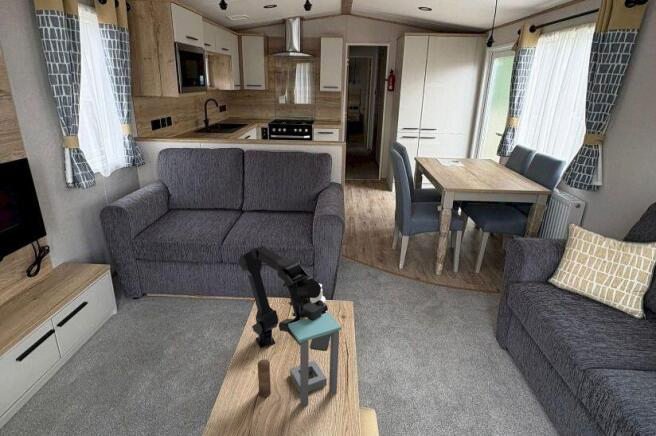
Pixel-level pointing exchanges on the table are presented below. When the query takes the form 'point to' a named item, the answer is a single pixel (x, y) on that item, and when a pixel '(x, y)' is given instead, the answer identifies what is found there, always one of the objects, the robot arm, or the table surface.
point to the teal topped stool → (303, 333)
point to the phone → (320, 342)
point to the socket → (313, 383)
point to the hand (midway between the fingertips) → (310, 339)
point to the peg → (264, 378)
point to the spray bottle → (318, 297)
